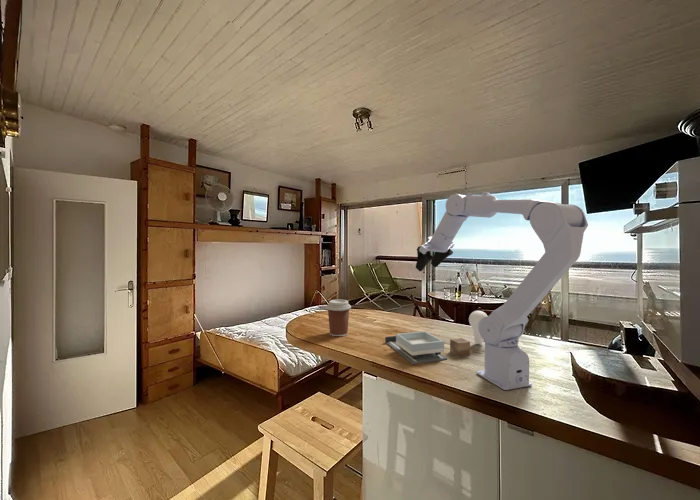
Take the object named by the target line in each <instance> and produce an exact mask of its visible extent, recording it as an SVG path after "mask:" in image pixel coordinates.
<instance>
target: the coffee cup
mask: <svg viewBox="0 0 700 500" xmlns="http://www.w3.org/2000/svg"><path fill="white" fill-rule="evenodd" d="M325 309H326V310H327V315H328V316H327V317H328V325H329V335H330V336H331V335H332V336H331V337H334V336H343V337H346V336H348V333H349V331H348V329H349V320H350V319H349V317H350V310H352V305H350V303H349V301H348V300H347V299H331V300H329V301H328V304H327V305H326V306H325ZM345 335H346V336H345Z"/></svg>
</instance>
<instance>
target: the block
mask: <svg viewBox="0 0 700 500" xmlns="http://www.w3.org/2000/svg"><path fill="white" fill-rule="evenodd" d="M449 352H450V353H451V354H453V355H455V356H457V357H466V356H471V341H469V340H466V339H464V338H462V337H457V338H456V337H455V338H450V339H449Z"/></svg>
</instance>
